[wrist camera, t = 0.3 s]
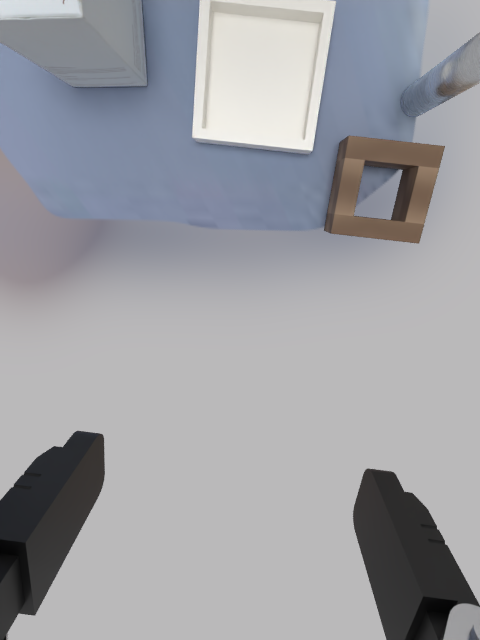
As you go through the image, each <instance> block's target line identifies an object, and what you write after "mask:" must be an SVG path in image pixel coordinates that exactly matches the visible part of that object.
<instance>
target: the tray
mask: <svg viewBox="0 0 480 640" xmlns="http://www.w3.org/2000/svg"><path fill="white" fill-rule="evenodd" d="M335 4H336V1H329V0H200V8H199V26H198V44H197V61H196V79H195V97H194V115H193V133H192V138H193V139H194V140H195V141H196V142H200V143H209V144H218V145H227V146H236V147H245V148H254V149H263V150H272V151H281V152H290V153H299V154H308V155H309V154H310V153H311V152H312V151H313V144H314V138H315V131H316V125H317V119H318V112H319V106H320V100H321V93H322V87H323V81H324V74H325V68H326V62H327V55H328V49H329V43H330V36H331V30H332V23H333V17H334V11H335Z"/></svg>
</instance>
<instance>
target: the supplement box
mask: <svg viewBox="0 0 480 640" xmlns="http://www.w3.org/2000/svg"><path fill="white" fill-rule="evenodd" d="M0 43H2V44H4V45H6V46H7V47H9V48H10V49H12V50H14V51H15V52H17V53H19V54H20V55H22V56H23V57H25V58H27V59H28V60H30V61H32V62H33V63H35V64H37V65H38V66H40V67H41V68H43V69H45V70H46V71H48V72H50V73H51V74H53V75H55V76H56V77H58V78H59V79H61V80H62V81H64V82H66V83H67V84H69V85H70V86H72V87H120V86H147V71H146V58H145V43H144V27H143V13H142V0H0Z"/></svg>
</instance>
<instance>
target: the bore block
mask: <svg viewBox="0 0 480 640" xmlns="http://www.w3.org/2000/svg"><path fill="white" fill-rule="evenodd" d="M444 148H445V146H438V145H429V144H420V143H411V142H402V141H393V140H384V139H375V138H366V137H357V136H348V137H347V138H345V139H344V140H342V141H341V142H340V144H339V150H338V155H337V161H336V167H335V172H334V178H333V183H332V189H331V195H330V200H329V206H328V211H327V217H326V222H325V228H324V231H326V232H329V233H332V234H340V235H349V236H358V237H366V238H375V239H384V240H393V241H402V242H410V243H419V241H420V238H421V234H422V230H423V227H424V223H425V219H426V215H427V212H428V208H429V204H430V200H431V197H432V193H433V189H434V185H435V182H436V178H437V174H438V170H439V167H440V163H441V159H442V156H443V151H444ZM364 165H365V166H374V167H383V168H392V169H401V170H403V171H402V176H401V180H400V184H399V188H398V192H397V197H396V201H395V205H394V209H393V214H392V218H391V220H386V219H377V218H367V217H359V216H354V211H355V207H356V202H357V197H358V192H359V187H360V182H361V177H362V172H363V167H364Z"/></svg>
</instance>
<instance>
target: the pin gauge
mask: <svg viewBox="0 0 480 640" xmlns="http://www.w3.org/2000/svg"><path fill="white" fill-rule="evenodd" d="M479 83H480V33H478V34H477V35H476V36H474V37H473V38H472V39H470V40H469V41H468V42H467V43H465V44H464V45H463V46H461V47H460V48H459V49H457V50H456V51H455V52H454V53H452V54H451V55H450V56H448V57H447V58H446V59H444V60H443V61H442V62H441V63H439V64H438V65H437V66H435V67H434V68H433V69H431V70H430V71H429V72H427V73H426V74H425V75H424V76H422V77H421V78H420V79H418V80H417V81H416V82H414V83H413V84H412V85H411V86H409V87H408V88H407V89H406V90H405V91H404V93H403V95H402V98H401V108H402V110H403V112H404V113H405V114H406V115H408V116H411V117H416V116H419V115H421V114H423V113H425V112H427V111H429V110H431V109H432V108H434V107H436V106H438V105H440V104H442V103H444V102H445V101H447V100H449V99H451V98H453V97H455V96H457V95H458V94H460V93H462V92H464V91H466V90H467V89H469V88H471V87H473V86H475V85H477V84H479Z"/></svg>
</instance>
